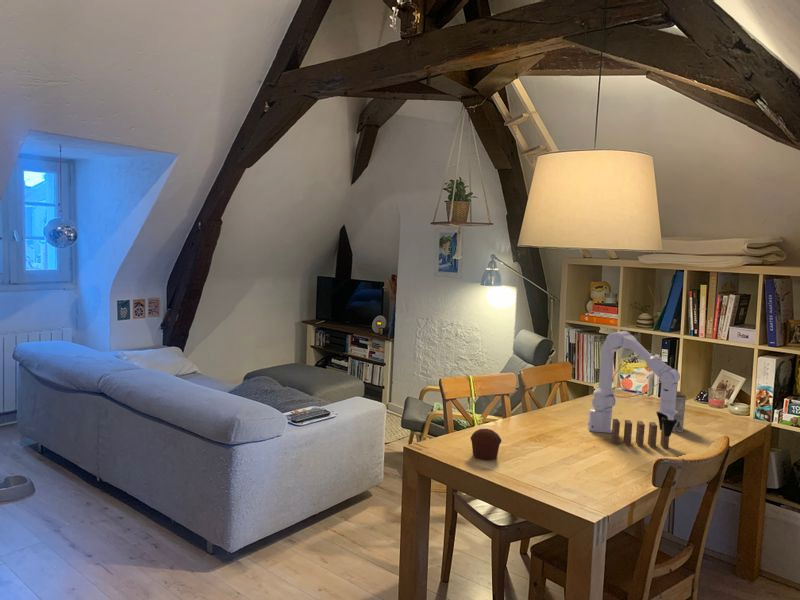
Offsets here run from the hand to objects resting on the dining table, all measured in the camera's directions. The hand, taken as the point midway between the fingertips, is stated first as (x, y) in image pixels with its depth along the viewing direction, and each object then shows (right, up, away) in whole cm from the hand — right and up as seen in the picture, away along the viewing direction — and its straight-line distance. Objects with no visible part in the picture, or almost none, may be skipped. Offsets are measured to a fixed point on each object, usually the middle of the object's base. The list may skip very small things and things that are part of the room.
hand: (665, 432), depth 255 cm
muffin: (-75, -5, -19) cm, 77 cm away
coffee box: (+15, -4, +26) cm, 30 cm away
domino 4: (-5, -5, +1) cm, 7 cm away
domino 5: (0, -6, +1) cm, 6 cm away
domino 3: (-10, -5, +2) cm, 11 cm away
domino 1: (-19, -5, +4) cm, 20 cm away
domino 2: (-14, -5, +3) cm, 15 cm away
